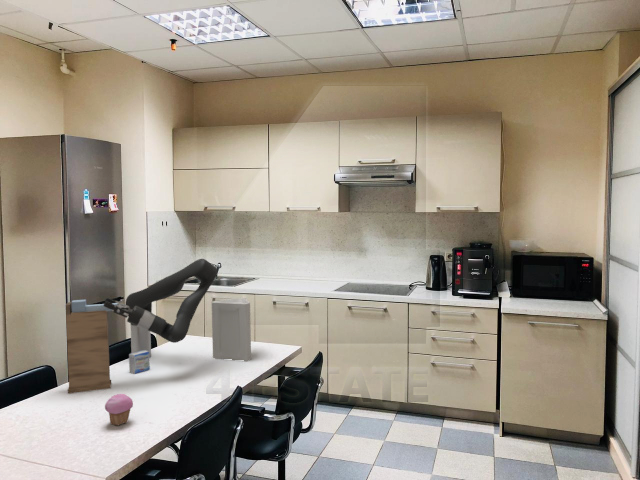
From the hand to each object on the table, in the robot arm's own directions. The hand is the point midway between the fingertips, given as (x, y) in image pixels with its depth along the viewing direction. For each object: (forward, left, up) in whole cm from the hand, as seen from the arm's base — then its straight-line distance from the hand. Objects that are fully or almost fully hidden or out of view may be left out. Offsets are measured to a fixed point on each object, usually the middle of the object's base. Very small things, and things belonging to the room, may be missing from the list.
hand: (104, 301), depth 207 cm
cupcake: (+42, +6, -36) cm, 56 cm away
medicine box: (-16, +13, -36) cm, 41 cm away
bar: (0, -4, -4) cm, 5 cm away
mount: (0, -7, -36) cm, 36 cm away
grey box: (-23, +59, -36) cm, 73 cm away
